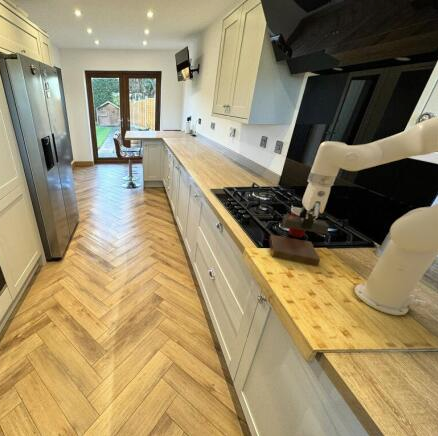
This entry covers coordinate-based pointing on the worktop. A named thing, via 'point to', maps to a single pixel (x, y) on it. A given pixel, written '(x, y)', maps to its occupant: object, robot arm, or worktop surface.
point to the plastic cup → (294, 231)
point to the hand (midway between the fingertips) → (304, 224)
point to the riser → (293, 250)
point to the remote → (297, 222)
